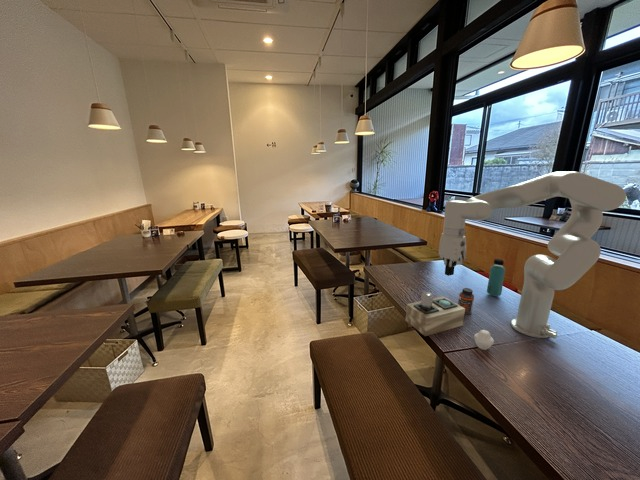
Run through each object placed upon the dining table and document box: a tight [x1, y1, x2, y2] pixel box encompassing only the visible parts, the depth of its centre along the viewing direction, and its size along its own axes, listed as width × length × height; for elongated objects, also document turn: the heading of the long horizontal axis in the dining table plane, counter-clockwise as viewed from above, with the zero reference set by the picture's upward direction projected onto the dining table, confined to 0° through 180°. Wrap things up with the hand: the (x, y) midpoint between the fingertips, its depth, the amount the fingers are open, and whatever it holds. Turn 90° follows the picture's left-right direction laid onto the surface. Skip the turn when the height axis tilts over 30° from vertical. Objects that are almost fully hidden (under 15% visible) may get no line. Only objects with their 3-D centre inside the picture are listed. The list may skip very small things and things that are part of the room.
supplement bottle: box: [457, 287, 475, 315], centre depth 118 cm, size 6×6×11 cm
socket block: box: [405, 295, 466, 337], centre depth 110 cm, size 12×20×9 cm, turn 110°
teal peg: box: [439, 300, 450, 307], centre depth 112 cm, size 4×4×8 cm
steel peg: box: [420, 291, 434, 311], centre depth 107 cm, size 4×4×8 cm
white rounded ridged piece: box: [473, 329, 495, 351], centre depth 95 cm, size 6×6×7 cm
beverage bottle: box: [486, 258, 506, 297], centre depth 132 cm, size 6×7×20 cm
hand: (449, 274), depth 107 cm, fingers closed
